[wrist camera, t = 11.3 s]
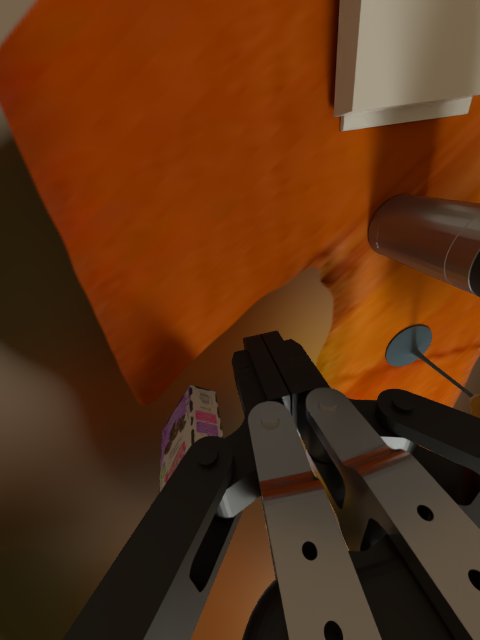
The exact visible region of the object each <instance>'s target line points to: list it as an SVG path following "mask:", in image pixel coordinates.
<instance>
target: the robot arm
mask: <svg viewBox="0 0 480 640" xmlns="http://www.w3.org/2000/svg"><path fill="white" fill-rule="evenodd" d="M368 238H369V243H370V245H371V247H372V249H373V250H374V251H376V252H377V253H379V254H381V255H384V256H386V257H388V258H391V259H393V260H395V261H397V262H400V263H402V264H404V265H407V266H409V267H411V268H413V269H416V270H418V271H420V272H423V273H425V274H427V275H430V276H432V277H434V278H437V279H439V280H441V281H444V282H446V283H448V284H451V285H453V286H455V287H458V288H460V289H463V290H465V291H467V292H470V293H472V294H474V295H477V296H479V297H480V203H472V202H464V201H455V200H447V199H439V198H431V197H424V196H415V195H406V194H402V195H397V196H395V197H392V198H391V199H389V200H387V201H386V202H385V203H384V204H383V205H382V206H381V207H380V208H379V209H378V210H377V212H376V213H375V215H374V217H373V218H372V221H371V223H370V227H369V231H368ZM243 344H244V350H242V351H238V352H234V355H233V358H232V366H233V371H234V377H235V382H236V387H237V391H238V395H239V399H240V402H241V406H242V410H243V413H244V417H245V419H244V421H243V423H242V425H241V426H240V428H238V429H237V430H236V431H235V432H234V433H232V434H231V435H229V436H228V437H226V438H224V439H223V438H221V437H218V436H206V437H203V438H201V439H199V440H197V441H196V442H194V443H193V444H192V445H191V446H190V448H189V449H188V451H187V452H186V454H185V455H184V457H183V458H182V460H181V461H180V463H179V464H178V466H177V467H176V469H175V470H174V472H173V473H172V475H171V476H170V478H169V479H168V481H167V482H166V484H165V485H164V487H163V488H162V490H161V491H160V493H159V495H158V496H157V498H156V499H155V501H154V502H153V504H152V505H151V507H150V508H149V510H148V511H147V513H146V514H145V516H144V517H143V519H142V520H141V522H140V523H139V525H138V526H137V528H136V529H135V531H134V532H133V534H132V535H131V537H130V538H129V540H128V542H127V543H126V544H125V546H124V547H123V549H122V550H121V552H120V554H119V555H118V557H117V558H116V560H115V561H114V563H113V564H112V566H111V567H110V569H109V570H108V572H107V573H106V575H105V576H104V578H103V580H102V581H101V582H100V584H99V585H98V587H97V588H96V590H95V591H94V593H93V594H92V596H91V597H90V599H89V601H88V602H87V603H86V605H85V607H84V608H83V610H82V611H81V613H80V614H79V616H78V617H77V619H76V620H75V622H74V623H73V625H72V626H71V628H70V629H69V631H68V632H67V634H66V635H65V637H64V638H63V640H190V639H191V637H192V635H193V632H194V630H195V627H196V625H197V622H198V619H199V617H200V615H201V612H202V610H203V607H204V605H205V603H206V600H207V597H208V595H209V593H210V590H211V588H212V585H213V583H214V580H215V578H216V575H217V573H218V571H219V568H220V566H221V563H222V561H223V558H224V556H225V553H226V551H227V549H228V546H229V544H230V541H231V539H232V536H233V534H234V532H235V529H236V526H237V524H238V522H239V519H240V517H241V514H242V511H243V509H244V508H246V507H247V506H248V505H249V504H250V503H252V502H253V501H254V500H256V499H257V498H258V497H259V496H261V500H262V505H263V511H264V517H265V522H266V527H267V533H268V538H269V544H270V550H271V556H272V561H273V566H274V572H275V578H276V580H274V581H273V582H272V583H271V584H270V586H269V587H268V588H267V589H266V590H265V591H264V593H263V594H262V596H261V597H260V599H259V600H258V602H257V604H256V606H255V608H254V610H253V611H252V614H251V616H250V618H249V621H248V624H247V626H246V629H245V632H244V635H243V639H242V640H480V418H478V417H475V416H473V415H470V414H467V413H465V412H462V411H459V410H456V409H454V408H451V407H448V406H446V405H443V404H440V403H438V402H435V401H432V400H430V399H427V398H424V397H421V396H419V395H416V394H413V393H411V392H408V391H405V390H401V389H388V390H385V391H383V392H381V393H380V394H379V396H378V399H377V400H354V399H349V398H347V397H346V396H345V395H344V394H343V393H341V392H339V391H338V390H335V389H332V388H330V386H329V385H328V383H327V382H326V381H325V379H324V378H323V376H322V375H321V373H320V372H319V371H318V369H317V368H316V366H315V365H314V363H313V362H311V359H310V358H309V356H308V355H307V354H306V352H305V350H304V349H303V347H302V346H301V345H300V344H298V343H297V342H295V341H294V340H292V339H289V340H285V341H284V340H283V339H282V337H281V336H280V334H279V332H278V331H272V332H268V333H264V334H260V335H255V336H250V337H246V338H243ZM300 437H301V438H302V440H303V442H304V444H305V450H304V448H303V445H302V442H301V439H300ZM419 445H420V446H419ZM421 446H422V447H421ZM423 447H424V448H423ZM425 448H426V449H425ZM427 449H428V450H427ZM429 450H431V451H429ZM432 451H433V452H432ZM434 452H435V453H434ZM436 453H437V454H436ZM438 454H439V455H438ZM440 455H441V456H440ZM442 456H443V457H442ZM444 457H446V458H448V459H446V458H444ZM449 459H450V460H449ZM451 460H452V461H451ZM453 461H454V462H453ZM455 462H456V463H455ZM457 463H458V464H457ZM460 464H461V465H460ZM310 466H311V467H310ZM311 468H312V470H313V471H314V473H315V475H316V477H315V476H314V474H313V472H312V470H311ZM329 502H330V503H331V505H332V507H333V509H334V511H335V513H336V515H337V518H338V522H339V525H340V529H341V532H342V534H341V532H340V529H339V526H338V524H337V521H336V519H335V516H334V513H333V511H332V508H331V505H330V503H329ZM342 535H343V537H342ZM343 538H344V539H343ZM344 540H345V542H346V545H347V546H348V549H349V551H348V550H347V547H346V545H345V542H344Z"/></svg>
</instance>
